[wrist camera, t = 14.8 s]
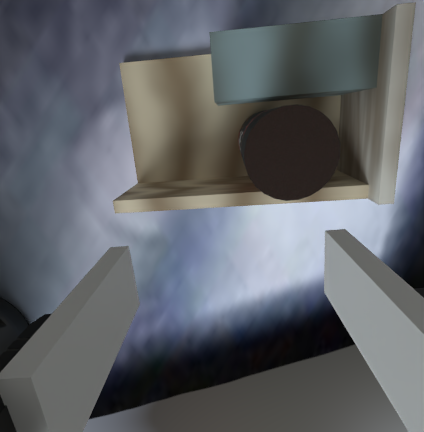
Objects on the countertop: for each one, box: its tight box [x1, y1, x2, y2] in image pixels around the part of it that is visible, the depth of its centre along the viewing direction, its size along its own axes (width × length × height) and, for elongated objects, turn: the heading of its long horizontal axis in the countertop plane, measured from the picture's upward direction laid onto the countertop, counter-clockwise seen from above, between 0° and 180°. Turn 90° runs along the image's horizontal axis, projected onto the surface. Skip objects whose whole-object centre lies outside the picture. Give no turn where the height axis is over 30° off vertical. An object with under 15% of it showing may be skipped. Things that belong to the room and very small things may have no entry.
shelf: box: [113, 2, 416, 213], centre depth 28 cm, size 24×14×11 cm, turn 95°
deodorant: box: [238, 104, 340, 201], centre depth 26 cm, size 6×6×15 cm
